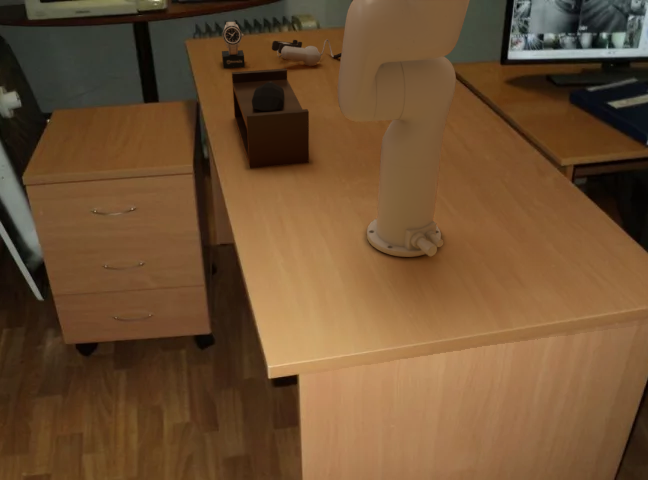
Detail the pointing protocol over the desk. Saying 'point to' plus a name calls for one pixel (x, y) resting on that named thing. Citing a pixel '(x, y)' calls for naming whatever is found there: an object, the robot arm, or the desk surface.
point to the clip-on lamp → (300, 52)
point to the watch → (232, 46)
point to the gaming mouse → (268, 97)
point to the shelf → (270, 122)
